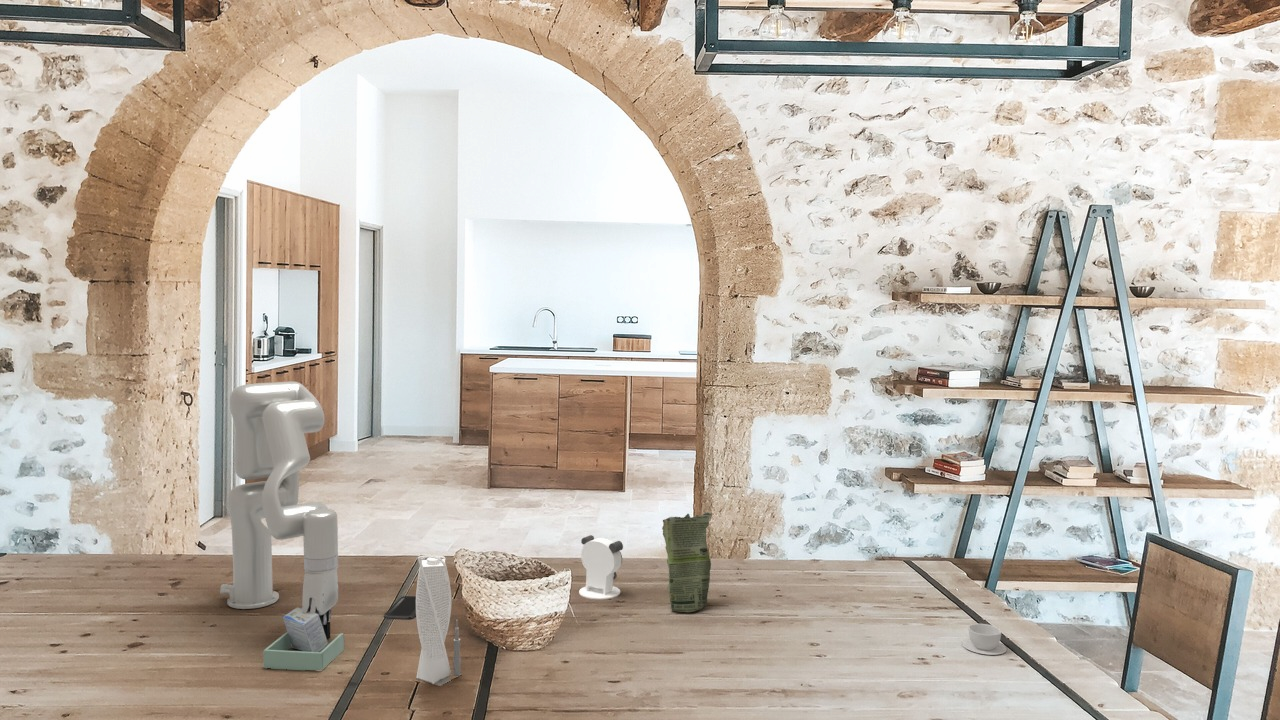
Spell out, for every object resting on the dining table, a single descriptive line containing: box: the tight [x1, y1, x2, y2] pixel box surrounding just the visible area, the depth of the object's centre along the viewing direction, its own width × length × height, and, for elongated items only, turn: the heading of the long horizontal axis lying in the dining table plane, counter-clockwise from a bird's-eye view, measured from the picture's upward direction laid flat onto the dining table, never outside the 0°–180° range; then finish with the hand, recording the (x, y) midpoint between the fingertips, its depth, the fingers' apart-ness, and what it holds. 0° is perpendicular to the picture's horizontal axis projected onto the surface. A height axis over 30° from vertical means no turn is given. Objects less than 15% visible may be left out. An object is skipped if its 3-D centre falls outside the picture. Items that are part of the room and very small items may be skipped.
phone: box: [383, 595, 416, 621], centre depth 242 cm, size 8×1×15 cm
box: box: [262, 631, 345, 671], centre depth 209 cm, size 13×12×4 cm
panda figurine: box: [578, 534, 624, 600], centre depth 256 cm, size 12×11×15 cm
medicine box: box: [282, 606, 329, 652], centre depth 213 cm, size 8×4×9 cm, turn 56°
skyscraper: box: [415, 554, 462, 687], centre depth 200 cm, size 8×8×28 cm
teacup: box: [961, 623, 1007, 656], centre depth 221 cm, size 10×10×5 cm
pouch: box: [661, 511, 712, 613], centre depth 246 cm, size 11×12×25 cm
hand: (322, 639), depth 218 cm, fingers closed
